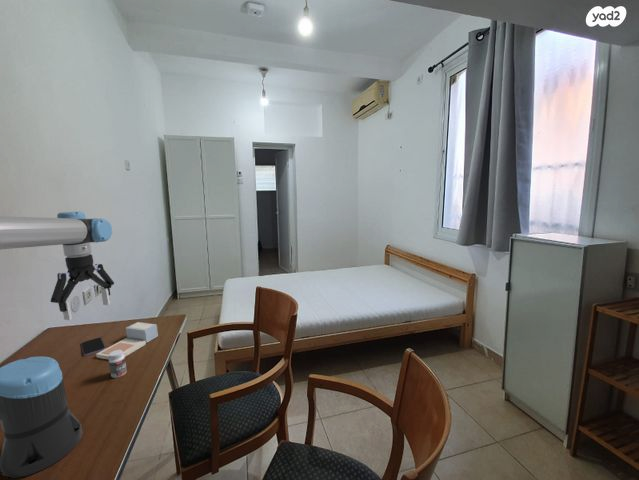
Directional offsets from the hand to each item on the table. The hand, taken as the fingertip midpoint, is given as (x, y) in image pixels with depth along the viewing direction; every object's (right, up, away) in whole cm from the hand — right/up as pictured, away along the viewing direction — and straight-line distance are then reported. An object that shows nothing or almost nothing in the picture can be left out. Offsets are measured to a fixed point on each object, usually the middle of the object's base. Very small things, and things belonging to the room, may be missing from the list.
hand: (88, 311), depth 107 cm
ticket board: (+3, -20, +14) cm, 24 cm away
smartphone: (-12, -20, +18) cm, 30 cm away
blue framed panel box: (+6, -18, +23) cm, 30 cm away
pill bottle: (+13, -22, -2) cm, 26 cm away
